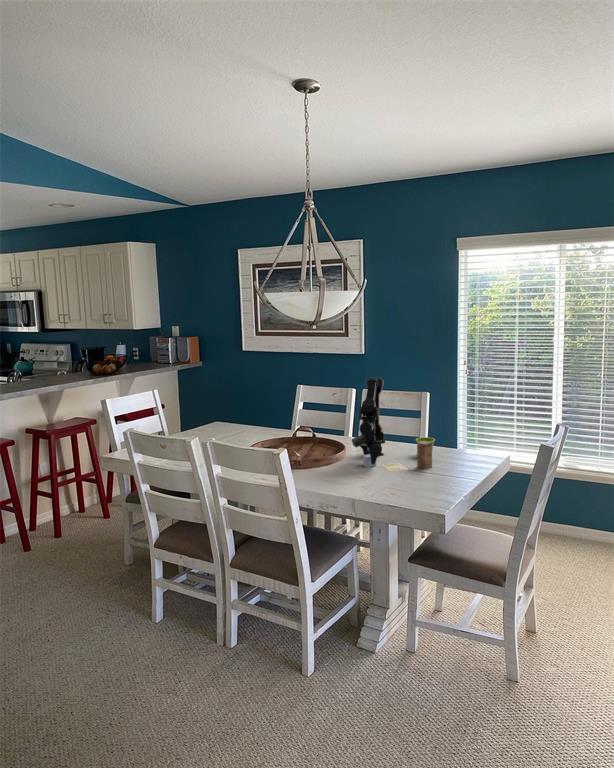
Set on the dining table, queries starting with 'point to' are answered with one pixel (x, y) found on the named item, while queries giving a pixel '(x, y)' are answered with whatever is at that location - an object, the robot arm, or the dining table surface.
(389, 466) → the letter
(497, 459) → the dining table surface
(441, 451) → the dining table surface
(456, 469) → the dining table surface
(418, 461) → the wooden cuboid post
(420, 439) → the plant pot
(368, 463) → the slate cube
